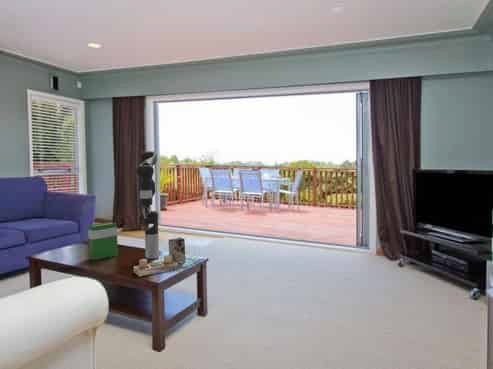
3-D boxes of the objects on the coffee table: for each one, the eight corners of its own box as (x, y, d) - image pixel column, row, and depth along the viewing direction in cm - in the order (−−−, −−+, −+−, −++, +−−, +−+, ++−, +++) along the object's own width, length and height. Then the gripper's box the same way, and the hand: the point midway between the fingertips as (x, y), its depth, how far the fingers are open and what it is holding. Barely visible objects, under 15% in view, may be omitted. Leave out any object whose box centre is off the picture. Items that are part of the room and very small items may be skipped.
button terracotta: (138, 267, 230) (138, 259, 229) (145, 266, 232) (145, 258, 232) (140, 269, 226) (140, 261, 226) (148, 268, 229) (148, 260, 228)
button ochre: (163, 263, 239) (162, 255, 238) (169, 262, 241) (169, 254, 241) (165, 264, 235) (165, 257, 235) (172, 263, 237) (172, 256, 237)
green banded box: (113, 253, 276) (111, 221, 274) (117, 255, 271) (116, 223, 269) (89, 258, 263) (87, 225, 261) (94, 260, 258) (92, 226, 256)
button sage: (151, 269, 234) (150, 261, 234) (158, 267, 237) (157, 260, 237) (153, 270, 231) (153, 263, 230) (160, 269, 233) (160, 261, 233)
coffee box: (181, 260, 256) (180, 237, 255) (185, 262, 251) (185, 238, 249) (169, 262, 250) (168, 239, 249) (173, 264, 245) (172, 240, 244)
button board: (133, 271, 231) (133, 266, 231) (171, 264, 245) (171, 259, 245) (139, 276, 222) (139, 270, 222) (178, 268, 236) (177, 263, 236)
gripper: (136, 196, 236) (137, 223, 237) (143, 198, 225) (144, 226, 226) (148, 195, 240) (149, 222, 242) (155, 197, 229) (156, 225, 231)
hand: (147, 224), depth 234 cm, fingers closed
